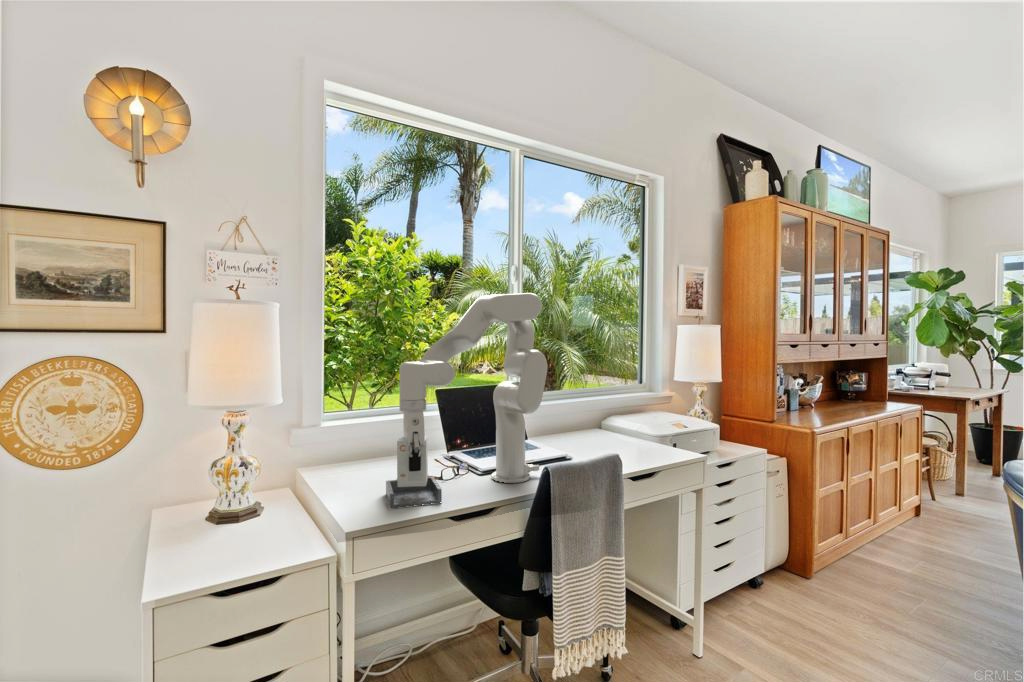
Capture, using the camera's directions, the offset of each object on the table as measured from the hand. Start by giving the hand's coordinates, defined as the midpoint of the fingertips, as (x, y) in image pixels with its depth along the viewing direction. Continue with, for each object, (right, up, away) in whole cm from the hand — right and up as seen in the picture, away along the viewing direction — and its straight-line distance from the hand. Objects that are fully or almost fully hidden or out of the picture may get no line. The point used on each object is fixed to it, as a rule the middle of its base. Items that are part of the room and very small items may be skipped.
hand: (412, 466), depth 145 cm
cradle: (0, -9, +1) cm, 9 cm away
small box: (0, -5, 0) cm, 5 cm away
